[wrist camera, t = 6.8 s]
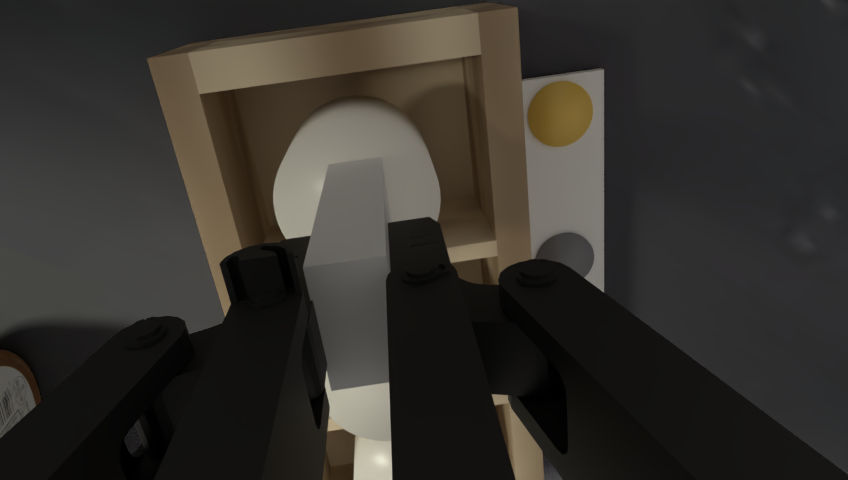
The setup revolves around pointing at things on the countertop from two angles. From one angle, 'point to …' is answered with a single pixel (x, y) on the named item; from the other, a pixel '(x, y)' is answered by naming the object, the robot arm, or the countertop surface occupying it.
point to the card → (566, 169)
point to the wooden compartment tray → (377, 77)
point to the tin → (15, 390)
